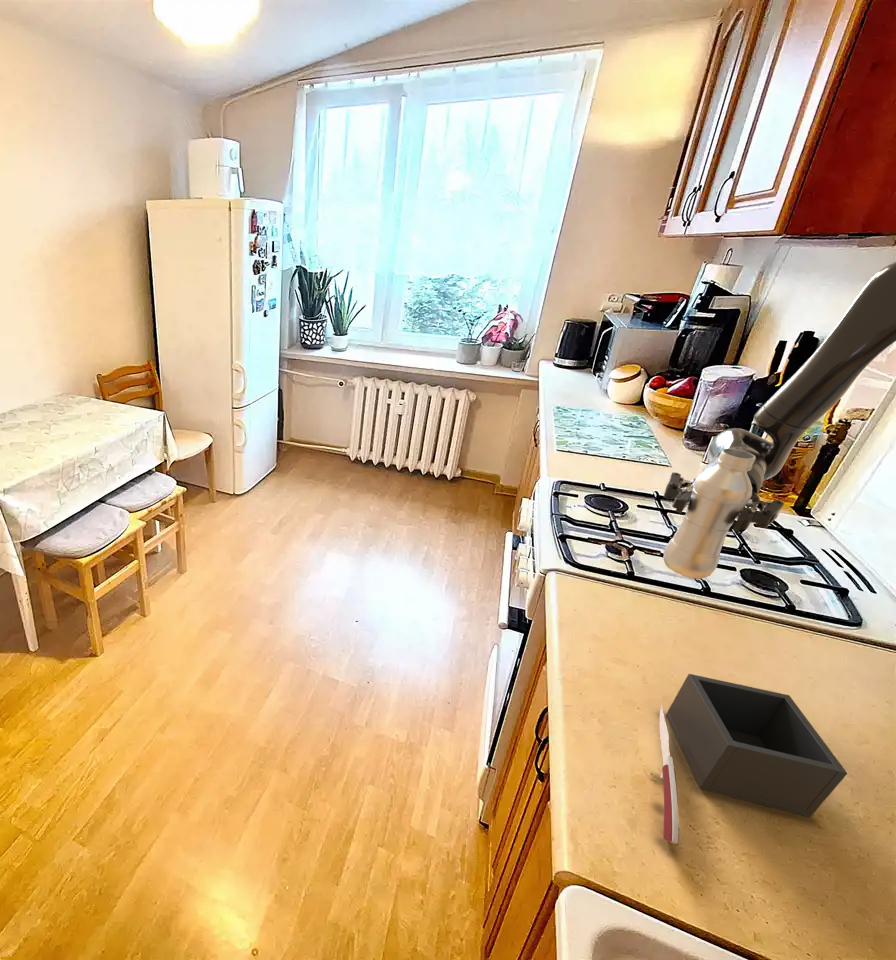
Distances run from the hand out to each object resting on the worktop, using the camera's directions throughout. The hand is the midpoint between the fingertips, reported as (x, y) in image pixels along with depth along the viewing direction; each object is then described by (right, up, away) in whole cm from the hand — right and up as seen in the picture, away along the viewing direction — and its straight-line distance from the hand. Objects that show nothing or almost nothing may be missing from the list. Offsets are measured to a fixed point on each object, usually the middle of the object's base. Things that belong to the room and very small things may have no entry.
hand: (708, 515), depth 74 cm
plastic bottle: (+2, -9, +6) cm, 11 cm away
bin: (-6, -30, -11) cm, 32 cm away
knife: (-16, -30, -12) cm, 37 cm away
